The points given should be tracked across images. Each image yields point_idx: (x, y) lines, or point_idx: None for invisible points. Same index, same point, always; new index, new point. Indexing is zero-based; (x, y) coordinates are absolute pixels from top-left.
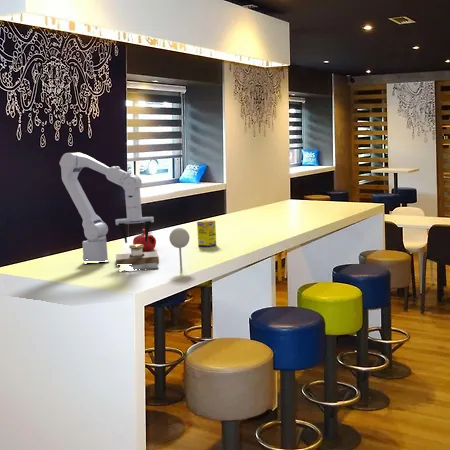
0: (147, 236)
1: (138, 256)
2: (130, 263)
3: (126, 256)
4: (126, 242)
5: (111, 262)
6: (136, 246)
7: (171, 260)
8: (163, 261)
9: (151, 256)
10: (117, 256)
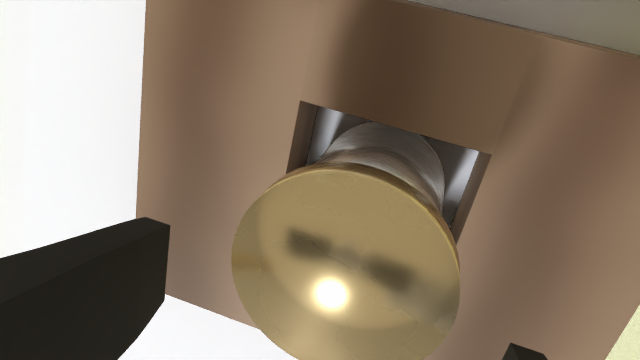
0: (62, 243)
1: (369, 143)
2: (525, 29)
3: (507, 238)
4: (525, 351)
5: (633, 345)
6: (366, 179)
7: (67, 18)
8: (141, 17)
9: (228, 8)
10: (606, 321)
